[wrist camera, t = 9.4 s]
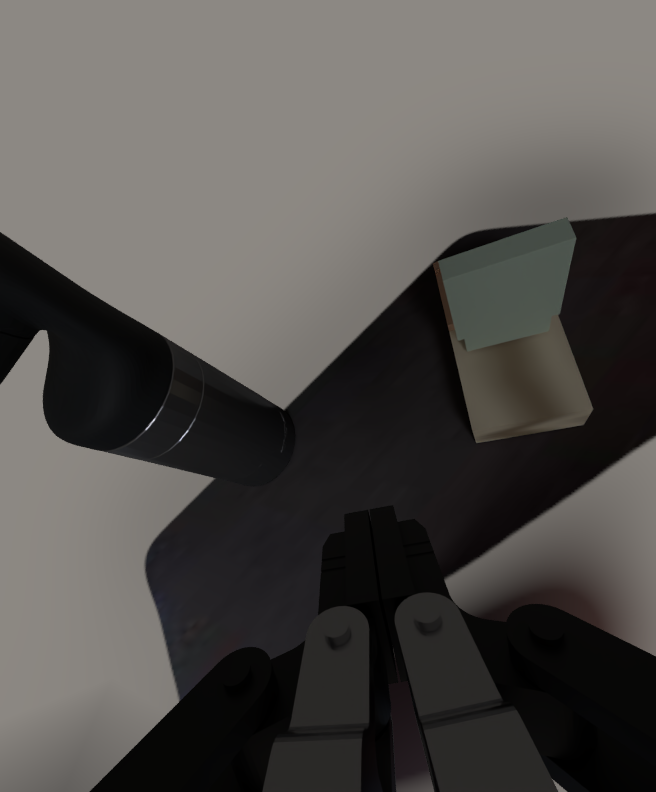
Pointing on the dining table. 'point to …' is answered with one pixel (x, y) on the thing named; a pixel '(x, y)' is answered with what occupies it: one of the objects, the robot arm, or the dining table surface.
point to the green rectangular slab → (509, 285)
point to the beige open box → (522, 385)
